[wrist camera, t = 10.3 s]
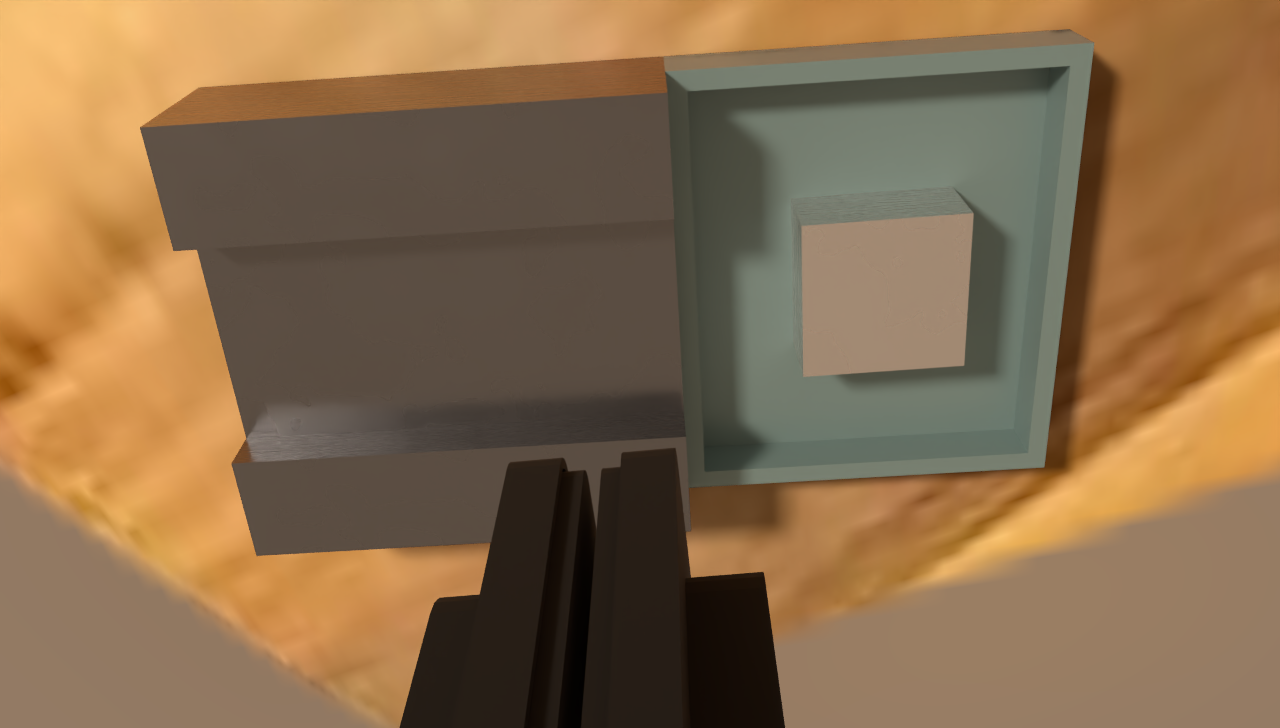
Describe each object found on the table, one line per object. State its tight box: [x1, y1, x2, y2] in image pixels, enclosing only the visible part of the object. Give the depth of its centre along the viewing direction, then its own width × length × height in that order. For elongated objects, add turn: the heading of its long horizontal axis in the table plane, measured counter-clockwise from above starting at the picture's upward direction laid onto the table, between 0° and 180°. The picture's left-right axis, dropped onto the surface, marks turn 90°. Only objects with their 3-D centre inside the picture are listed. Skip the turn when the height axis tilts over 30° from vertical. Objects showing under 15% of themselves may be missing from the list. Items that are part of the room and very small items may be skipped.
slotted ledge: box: [140, 57, 691, 556], centre depth 35 cm, size 14×14×4 cm
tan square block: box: [791, 186, 974, 377], centre depth 35 cm, size 5×5×2 cm
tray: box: [664, 29, 1094, 488], centre depth 35 cm, size 12×14×2 cm
